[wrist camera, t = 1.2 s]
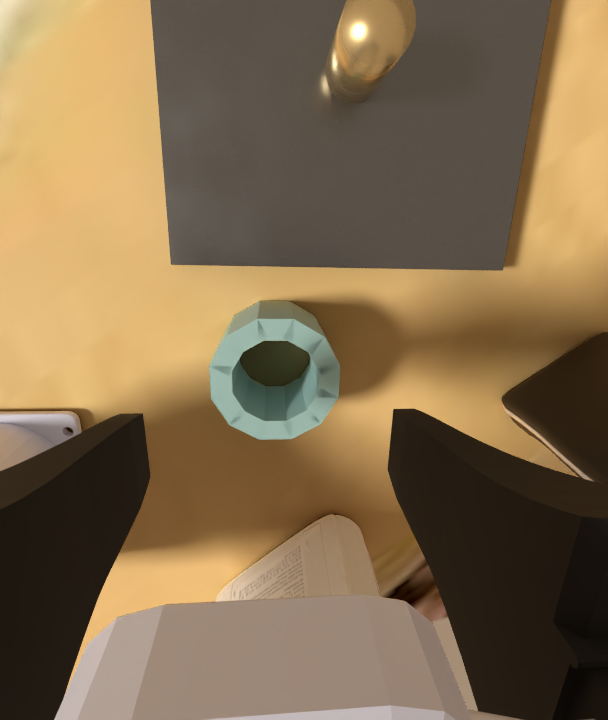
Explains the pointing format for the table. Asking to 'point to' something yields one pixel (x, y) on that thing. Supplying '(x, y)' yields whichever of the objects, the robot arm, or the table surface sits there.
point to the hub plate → (344, 129)
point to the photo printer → (310, 565)
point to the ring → (274, 403)
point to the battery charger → (569, 408)
